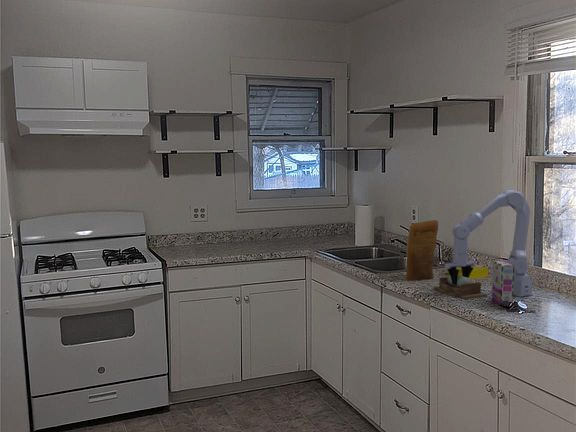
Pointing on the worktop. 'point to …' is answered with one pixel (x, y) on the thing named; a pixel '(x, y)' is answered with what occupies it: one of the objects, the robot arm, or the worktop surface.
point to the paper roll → (459, 280)
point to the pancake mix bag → (421, 250)
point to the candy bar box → (502, 282)
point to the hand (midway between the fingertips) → (459, 283)
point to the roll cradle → (461, 289)
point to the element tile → (475, 272)
